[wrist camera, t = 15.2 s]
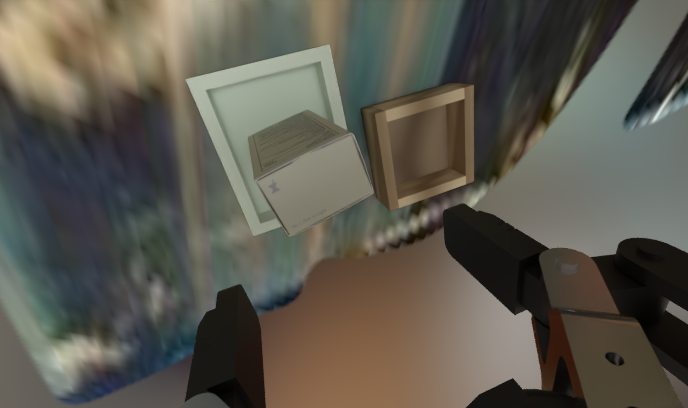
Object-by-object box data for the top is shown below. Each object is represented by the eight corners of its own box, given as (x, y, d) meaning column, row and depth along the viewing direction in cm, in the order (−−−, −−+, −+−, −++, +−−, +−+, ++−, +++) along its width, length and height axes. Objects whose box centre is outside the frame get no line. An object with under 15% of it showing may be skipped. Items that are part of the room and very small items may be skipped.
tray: (321, 46, 26) (329, 44, 23) (352, 188, 33) (361, 199, 30) (191, 77, 24) (185, 79, 22) (252, 222, 31) (253, 236, 28)
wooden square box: (450, 82, 31) (473, 84, 28) (453, 171, 36) (473, 181, 32) (360, 108, 29) (374, 113, 26) (376, 197, 34) (390, 211, 31)
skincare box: (269, 176, 29) (286, 243, 18) (245, 134, 26) (248, 181, 16) (328, 148, 29) (377, 196, 19) (309, 104, 27) (354, 131, 16)
